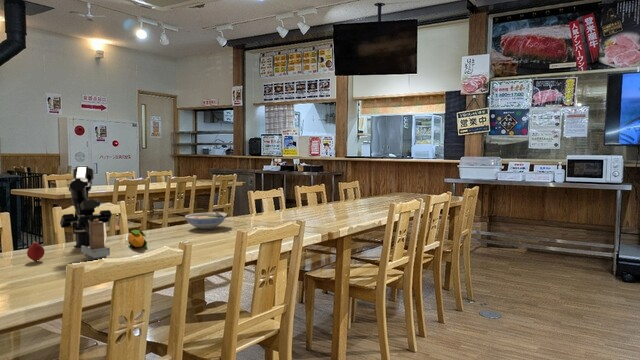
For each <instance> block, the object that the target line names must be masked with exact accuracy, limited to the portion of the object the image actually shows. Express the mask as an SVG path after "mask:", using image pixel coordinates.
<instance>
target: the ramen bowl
mask: <svg viewBox="0 0 640 360" xmlns="http://www.w3.org/2000/svg"><path fill="white" fill-rule="evenodd" d="M227 215H228V214H227V213H225V212H224V213H223V212H219V211H216V212H198V213H191V214H186V215H184V218H185V220H186V221H187V223H189V224H190V225H191V226H193V227H195V228H197V229H200V230H212V229H214V228H215V227H218V226H220V225H221V224H222V223H223V222H224V220H226V217H227Z"/></svg>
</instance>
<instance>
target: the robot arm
mask: <svg viewBox="0 0 640 360" xmlns="http://www.w3.org/2000/svg"><path fill="white" fill-rule="evenodd" d="M72 175H73V176H72V177H73V179H72V180H71V182H70V183H69V186H68V192H70V196H71V198H70V199H71V200H70V201H71V203H72V205H73V207H74V213H63V214H62V216H61V218H60V222H59V224H60V227H61V228H62V229H64V228H70V227H71V226H72V234H73V235H75V245H73V247H74V248H81V246H86V247H89V246H90V238H89V222H92V221H93V220H94V219H99V221H101V222H104V224H107V223H109V222H110V219H111V217H112V211H111V210H110V209H106V210H104V209H103V210H102V209H101V210H99V213H95V211H96V210H95V208H99V207H100V206H101V202H100V199H99V198H93V199H89V192H91V189H92V185H93V180H94V178H95V177H94V169H93V168H90V167H89V165H85V164H84V165H76V166H75V168H74V169H73V172H72ZM94 213H95V214H94Z"/></svg>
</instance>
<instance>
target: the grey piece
mask: <svg viewBox="0 0 640 360" xmlns="http://www.w3.org/2000/svg"><path fill="white" fill-rule="evenodd" d="M80 251H81V254H83V257H84V259H85V260H84V261H86V260H92V261H94V260H93V259H97V258H104V259H107V258H106V257H108V256H111V249H110V247H109V246H105V248H99V249H91V248H90V246H89V247H86V246H81V247H80Z"/></svg>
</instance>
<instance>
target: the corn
mask: <svg viewBox="0 0 640 360" xmlns="http://www.w3.org/2000/svg"><path fill="white" fill-rule="evenodd" d="M144 237H145V238H146V237H147V236H146V233H145V232H144V231H142V230H138V229H133V230H131V231H130V233H129V234H128V237H127V240H128V241H127V243H128V244H129V245H130V246H131V247H132V248H134V249H135V248H140V247H142V248H146V247H147V245H148V242H147V240H146V239H145V238H144Z"/></svg>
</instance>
